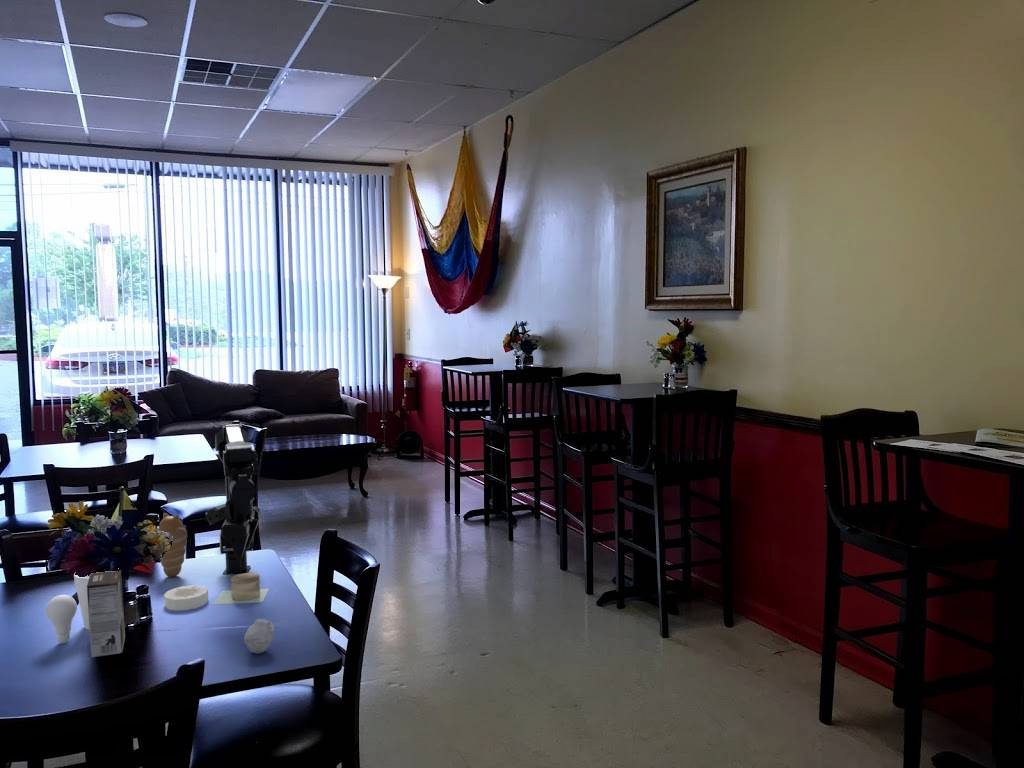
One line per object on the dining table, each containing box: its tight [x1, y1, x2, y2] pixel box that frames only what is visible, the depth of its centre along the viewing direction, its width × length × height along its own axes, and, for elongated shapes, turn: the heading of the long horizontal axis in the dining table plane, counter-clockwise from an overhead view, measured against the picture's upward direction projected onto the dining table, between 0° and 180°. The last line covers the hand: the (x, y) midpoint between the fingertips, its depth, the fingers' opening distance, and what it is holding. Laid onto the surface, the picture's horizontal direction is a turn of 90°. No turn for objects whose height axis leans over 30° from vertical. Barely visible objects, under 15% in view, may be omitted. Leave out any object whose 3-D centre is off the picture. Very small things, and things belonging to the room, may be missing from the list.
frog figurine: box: [243, 618, 275, 654], centre depth 176 cm, size 6×7×7 cm
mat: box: [213, 588, 270, 605], centre depth 209 cm, size 10×12×1 cm
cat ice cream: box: [158, 512, 188, 578], centre depth 225 cm, size 9×8×18 cm
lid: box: [230, 572, 261, 601], centre depth 209 cm, size 7×7×5 cm
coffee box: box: [87, 569, 126, 658], centre depth 178 cm, size 9×6×16 cm
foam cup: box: [73, 573, 89, 631], centre depth 191 cm, size 10×9×13 cm
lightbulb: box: [45, 594, 78, 644], centre depth 181 cm, size 6×6×11 cm
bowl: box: [163, 584, 209, 612], centre depth 205 cm, size 10×10×3 cm
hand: (242, 553), depth 208 cm, fingers open, 9 cm apart
